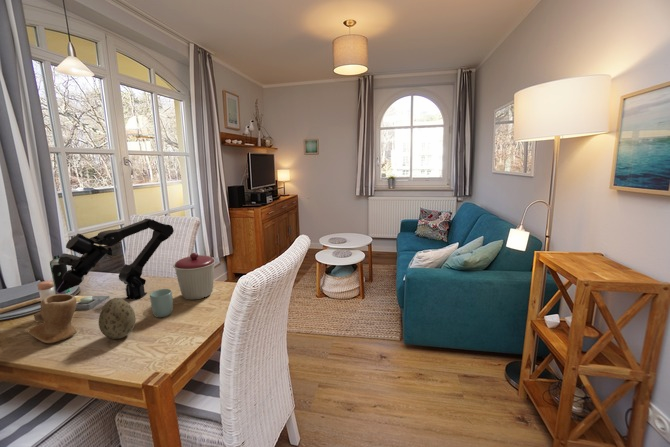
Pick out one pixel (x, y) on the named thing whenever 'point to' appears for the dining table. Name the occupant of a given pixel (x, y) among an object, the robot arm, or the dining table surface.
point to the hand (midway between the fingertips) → (61, 288)
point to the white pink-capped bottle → (46, 289)
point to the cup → (161, 302)
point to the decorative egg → (116, 318)
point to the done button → (86, 300)
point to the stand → (38, 317)
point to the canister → (195, 276)
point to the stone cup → (55, 318)
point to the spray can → (58, 274)
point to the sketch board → (92, 304)
